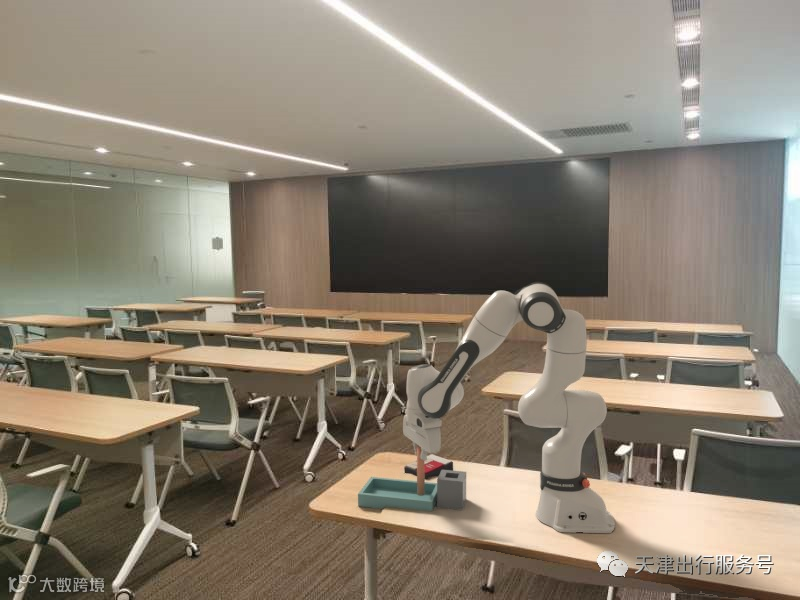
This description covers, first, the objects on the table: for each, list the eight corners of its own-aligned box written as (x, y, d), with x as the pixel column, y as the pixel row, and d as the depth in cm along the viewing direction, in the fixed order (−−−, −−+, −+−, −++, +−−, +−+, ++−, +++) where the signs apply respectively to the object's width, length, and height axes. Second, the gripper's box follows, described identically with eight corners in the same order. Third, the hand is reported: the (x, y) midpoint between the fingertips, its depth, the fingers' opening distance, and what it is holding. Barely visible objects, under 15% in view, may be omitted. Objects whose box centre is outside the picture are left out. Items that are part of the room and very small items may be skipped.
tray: (440, 495, 183) (440, 483, 182) (432, 514, 169) (432, 501, 169) (371, 488, 189) (371, 476, 188) (358, 506, 175) (357, 493, 175)
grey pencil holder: (466, 501, 178) (466, 471, 177) (462, 513, 170) (462, 481, 169) (441, 499, 180) (441, 469, 179) (437, 510, 172) (437, 479, 171)
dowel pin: (424, 492, 178) (423, 444, 177) (425, 495, 176) (424, 446, 174) (416, 492, 178) (416, 444, 176) (417, 495, 175) (417, 447, 174)
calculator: (403, 464, 201) (431, 452, 211) (404, 475, 201) (432, 463, 212) (425, 473, 193) (453, 459, 203) (425, 484, 194) (453, 471, 204)
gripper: (398, 407, 183) (398, 448, 184) (425, 425, 164) (426, 470, 165) (415, 405, 185) (415, 445, 186) (444, 422, 167) (444, 466, 168)
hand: (420, 457), depth 176 cm, fingers closed on dowel pin, 2 cm apart
